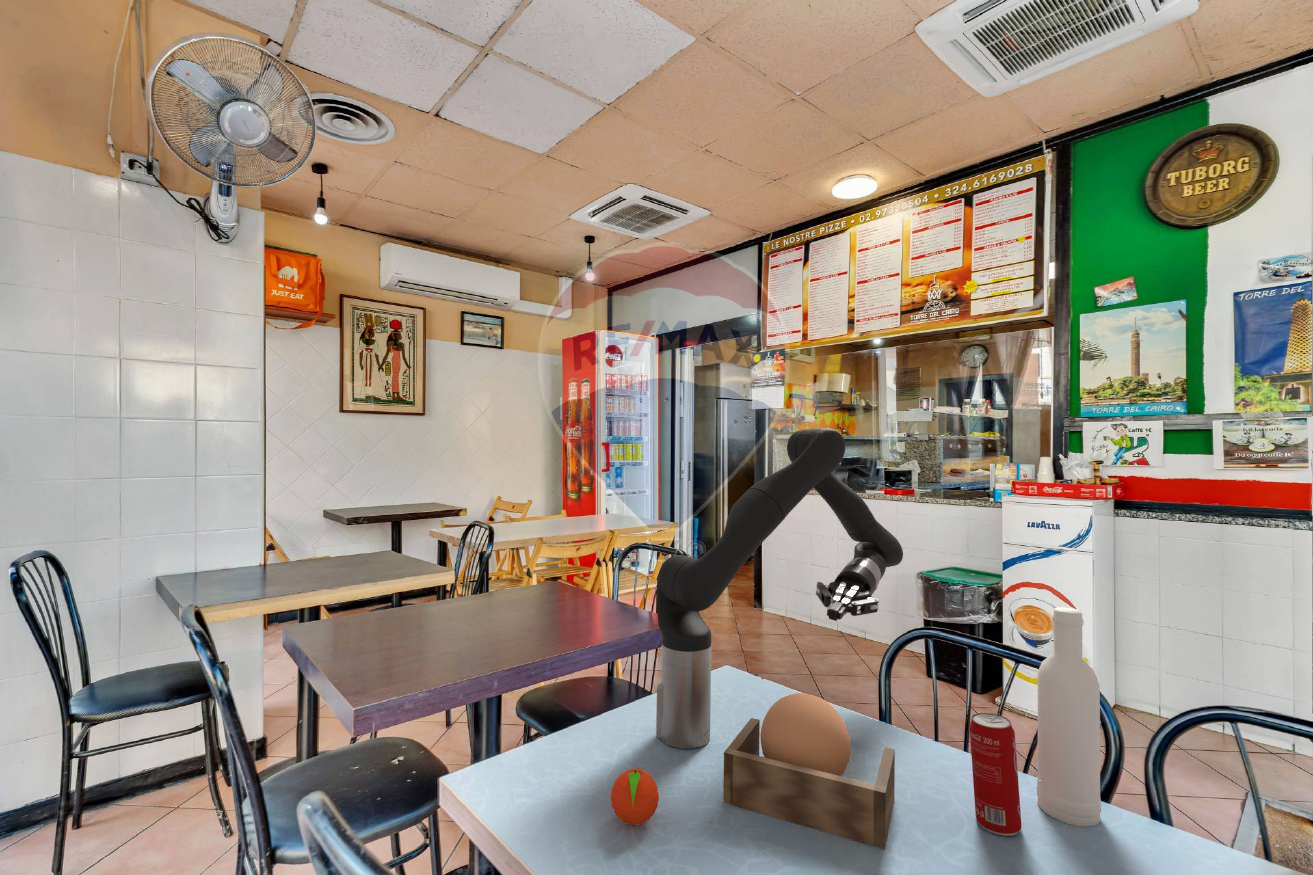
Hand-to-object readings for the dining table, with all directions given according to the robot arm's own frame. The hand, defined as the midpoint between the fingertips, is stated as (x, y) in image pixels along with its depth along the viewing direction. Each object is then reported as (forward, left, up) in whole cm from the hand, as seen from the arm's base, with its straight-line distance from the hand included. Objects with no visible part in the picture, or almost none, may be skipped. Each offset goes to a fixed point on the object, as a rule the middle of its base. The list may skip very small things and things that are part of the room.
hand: (832, 615), depth 113 cm
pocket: (+1, -22, -23) cm, 32 cm away
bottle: (+36, -7, -23) cm, 43 cm away
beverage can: (+26, -16, -23) cm, 38 cm away
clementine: (-20, -40, -23) cm, 50 cm away
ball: (-1, -19, -16) cm, 24 cm away
